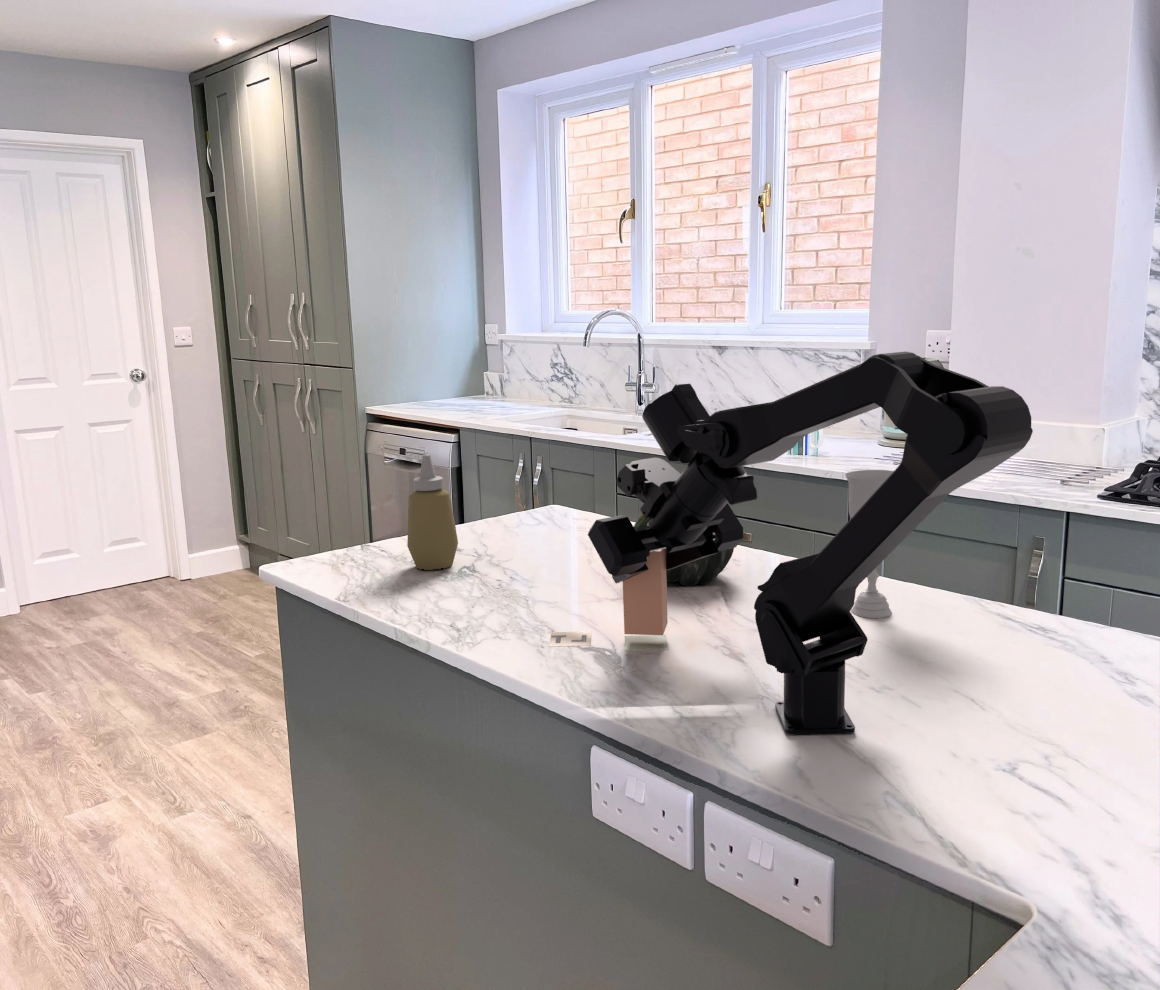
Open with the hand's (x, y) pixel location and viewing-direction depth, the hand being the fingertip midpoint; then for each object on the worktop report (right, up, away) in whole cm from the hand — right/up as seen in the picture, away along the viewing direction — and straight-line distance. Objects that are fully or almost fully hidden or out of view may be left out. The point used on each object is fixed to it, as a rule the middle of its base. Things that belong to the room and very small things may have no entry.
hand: (637, 574), depth 113 cm
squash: (+8, -3, +28) cm, 30 cm away
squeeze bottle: (-30, -2, +41) cm, 51 cm away
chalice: (+31, -6, +11) cm, 33 cm away
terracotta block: (+1, -6, 0) cm, 6 cm away
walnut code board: (-3, -9, +1) cm, 10 cm away
